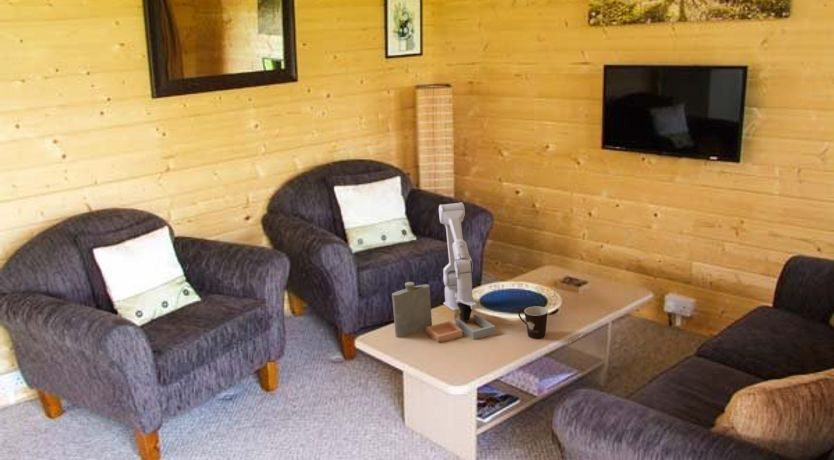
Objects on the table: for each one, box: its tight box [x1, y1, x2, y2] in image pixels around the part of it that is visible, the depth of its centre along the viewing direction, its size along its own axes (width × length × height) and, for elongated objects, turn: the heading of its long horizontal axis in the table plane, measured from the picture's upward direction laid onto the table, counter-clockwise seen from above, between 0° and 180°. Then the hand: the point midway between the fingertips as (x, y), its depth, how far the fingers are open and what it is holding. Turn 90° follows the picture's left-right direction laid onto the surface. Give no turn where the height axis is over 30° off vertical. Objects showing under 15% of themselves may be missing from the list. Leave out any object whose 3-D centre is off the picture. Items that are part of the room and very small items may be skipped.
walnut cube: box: [453, 308, 471, 323], centre depth 305 cm, size 4×4×4 cm
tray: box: [425, 320, 464, 344], centre depth 294 cm, size 10×10×2 cm
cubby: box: [454, 313, 496, 340], centre depth 296 cm, size 15×9×3 cm, turn 24°
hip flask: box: [391, 281, 433, 339], centre depth 296 cm, size 16×4×20 cm, turn 119°
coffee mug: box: [517, 305, 549, 340], centre depth 288 cm, size 12×9×10 cm
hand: (466, 320), depth 302 cm, fingers closed
